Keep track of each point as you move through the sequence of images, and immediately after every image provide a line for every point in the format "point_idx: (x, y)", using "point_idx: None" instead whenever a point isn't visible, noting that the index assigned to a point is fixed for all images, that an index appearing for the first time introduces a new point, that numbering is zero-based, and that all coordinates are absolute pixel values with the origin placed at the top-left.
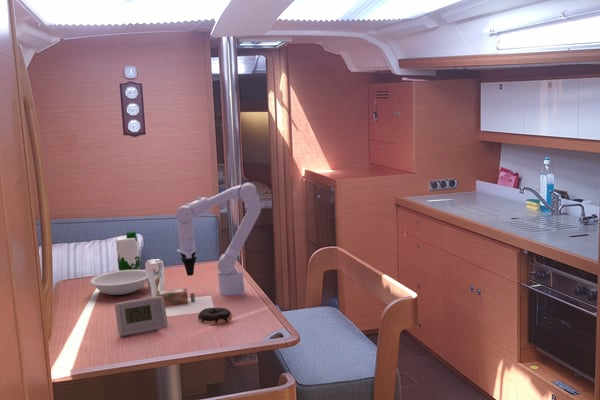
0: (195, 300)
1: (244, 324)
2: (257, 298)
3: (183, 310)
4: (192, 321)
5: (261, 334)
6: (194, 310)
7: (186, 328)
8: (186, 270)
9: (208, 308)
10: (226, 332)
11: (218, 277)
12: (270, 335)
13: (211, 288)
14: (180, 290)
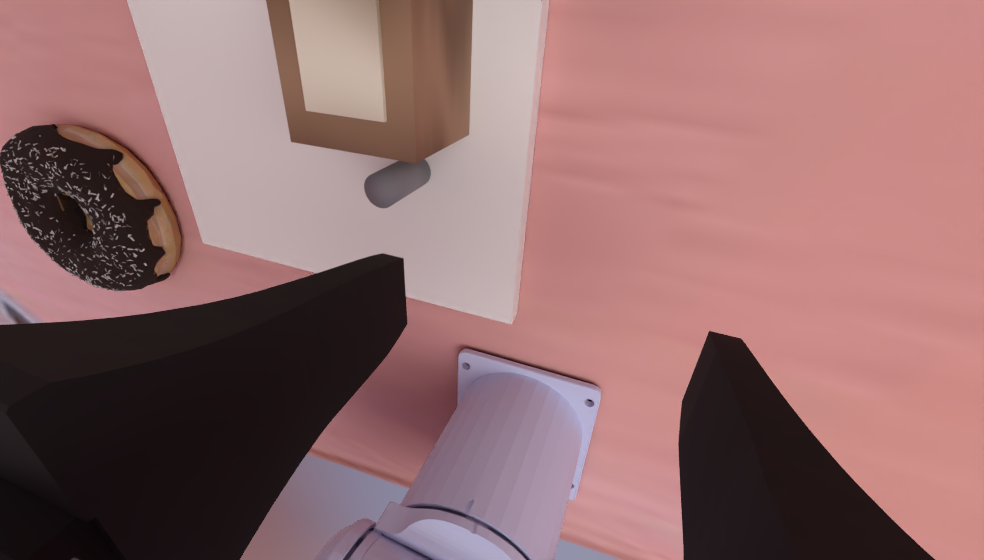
0: (433, 193)
1: (96, 291)
2: (402, 468)
3: (217, 55)
4: (102, 88)
5: (25, 297)
6: (212, 134)
7: (6, 35)
8: (308, 281)
9: (90, 207)
10: (12, 205)
11: (475, 481)
12: (24, 314)
13: (816, 409)
14: (343, 80)
